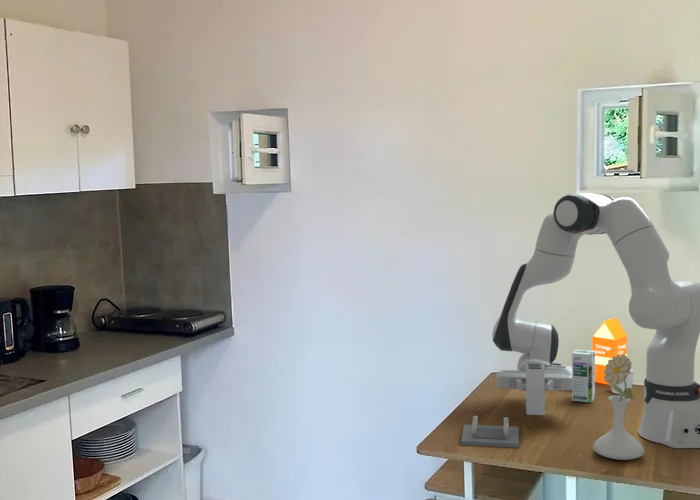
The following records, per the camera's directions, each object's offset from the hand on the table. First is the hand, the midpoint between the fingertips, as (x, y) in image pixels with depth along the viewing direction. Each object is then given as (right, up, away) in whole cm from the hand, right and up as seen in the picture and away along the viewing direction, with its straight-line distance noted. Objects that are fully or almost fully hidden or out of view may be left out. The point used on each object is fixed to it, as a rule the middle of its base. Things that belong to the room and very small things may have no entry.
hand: (535, 387), depth 202 cm
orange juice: (+35, -6, +46) cm, 58 cm away
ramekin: (+21, -7, +40) cm, 46 cm away
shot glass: (+34, -7, +33) cm, 48 cm away
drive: (0, -6, +1) cm, 7 cm away
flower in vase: (+15, -13, -21) cm, 29 cm away
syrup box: (+20, -8, +25) cm, 34 cm away
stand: (-13, -12, -6) cm, 18 cm away
